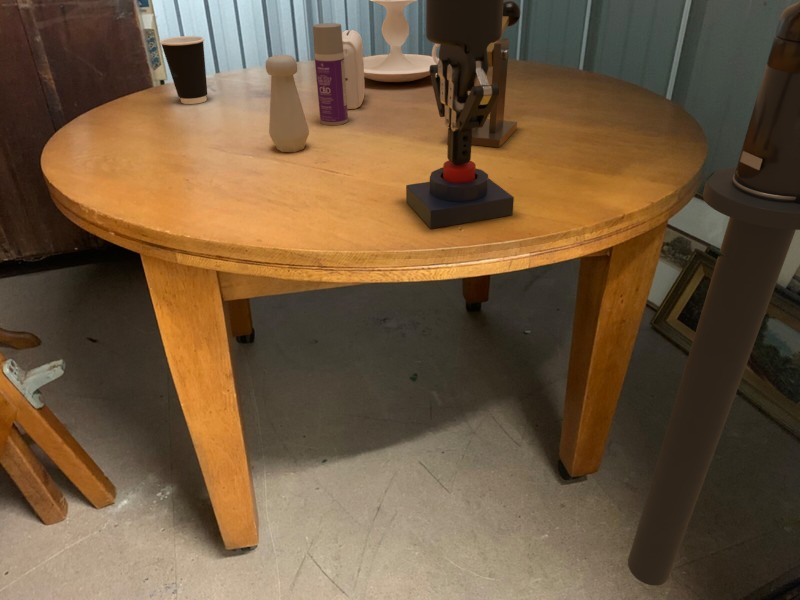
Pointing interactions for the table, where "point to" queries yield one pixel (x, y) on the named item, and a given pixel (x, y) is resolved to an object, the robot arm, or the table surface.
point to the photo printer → (353, 68)
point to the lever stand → (496, 104)
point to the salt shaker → (285, 106)
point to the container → (330, 73)
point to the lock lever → (505, 24)
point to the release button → (459, 172)
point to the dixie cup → (187, 67)
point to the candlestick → (397, 49)
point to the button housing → (458, 200)
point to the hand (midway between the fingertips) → (458, 161)
